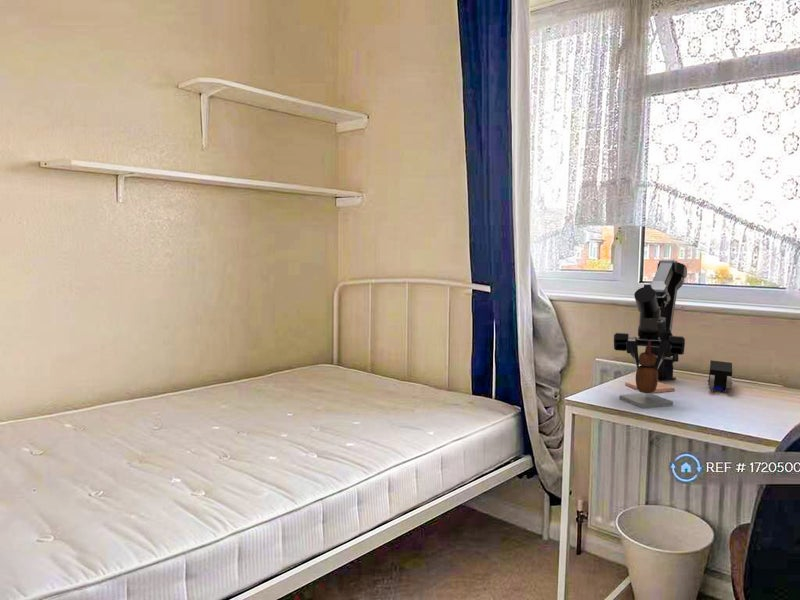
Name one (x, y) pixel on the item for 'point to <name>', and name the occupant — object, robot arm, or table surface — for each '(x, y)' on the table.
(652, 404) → the slate tile
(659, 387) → the terracotta tile
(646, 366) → the wooden figurine
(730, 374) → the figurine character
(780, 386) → the table surface
